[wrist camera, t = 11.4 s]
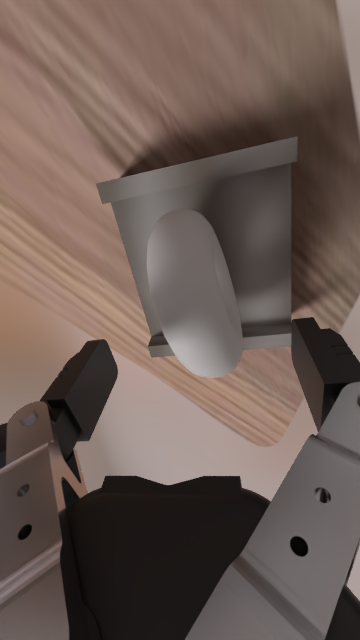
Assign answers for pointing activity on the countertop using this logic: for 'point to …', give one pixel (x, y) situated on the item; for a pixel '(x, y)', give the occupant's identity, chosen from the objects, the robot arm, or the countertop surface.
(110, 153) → the countertop surface
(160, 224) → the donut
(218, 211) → the base
